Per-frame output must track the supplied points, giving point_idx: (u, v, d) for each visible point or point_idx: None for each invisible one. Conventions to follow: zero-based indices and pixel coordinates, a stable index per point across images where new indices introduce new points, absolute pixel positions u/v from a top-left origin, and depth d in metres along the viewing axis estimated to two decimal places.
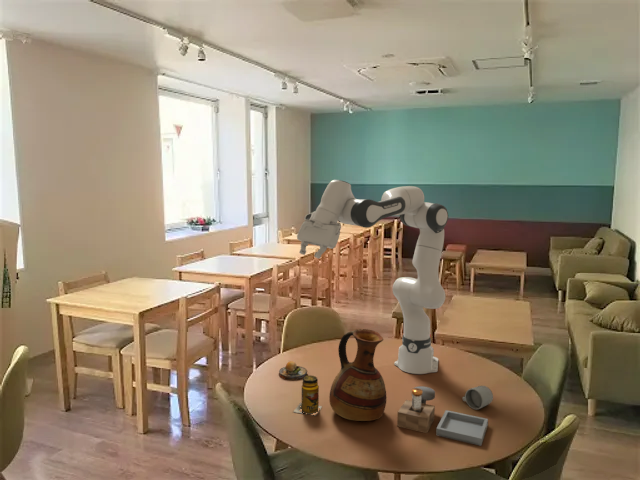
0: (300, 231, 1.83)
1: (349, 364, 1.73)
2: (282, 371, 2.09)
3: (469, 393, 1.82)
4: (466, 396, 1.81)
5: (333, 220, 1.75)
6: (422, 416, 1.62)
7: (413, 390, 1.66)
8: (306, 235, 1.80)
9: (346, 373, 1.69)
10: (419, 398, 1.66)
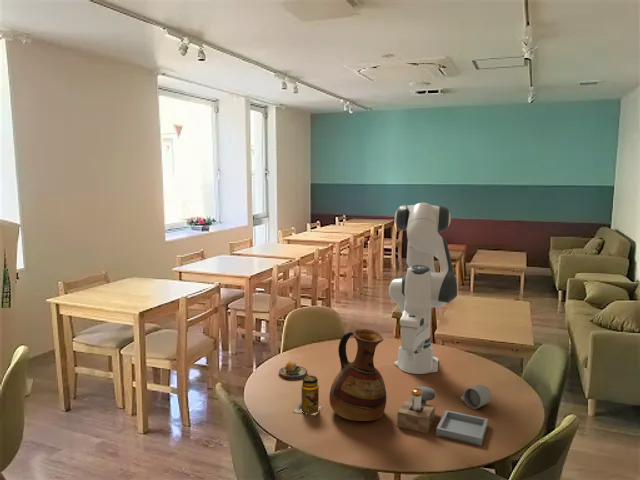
0: None
1: (349, 364, 1.73)
2: (282, 371, 2.09)
3: (467, 392, 1.82)
4: (464, 395, 1.81)
5: None
6: (422, 416, 1.62)
7: (413, 390, 1.66)
8: (418, 340, 1.60)
9: (346, 373, 1.69)
10: (419, 398, 1.66)
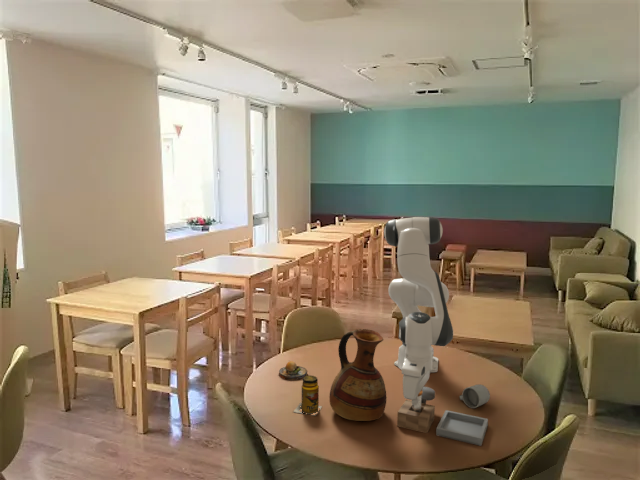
0: (416, 390, 1.58)
1: (349, 364, 1.73)
2: (282, 371, 2.09)
3: (466, 392, 1.83)
4: (463, 395, 1.82)
5: None
6: (422, 416, 1.62)
7: None
8: (419, 388, 1.62)
9: (346, 373, 1.69)
10: (419, 398, 1.66)
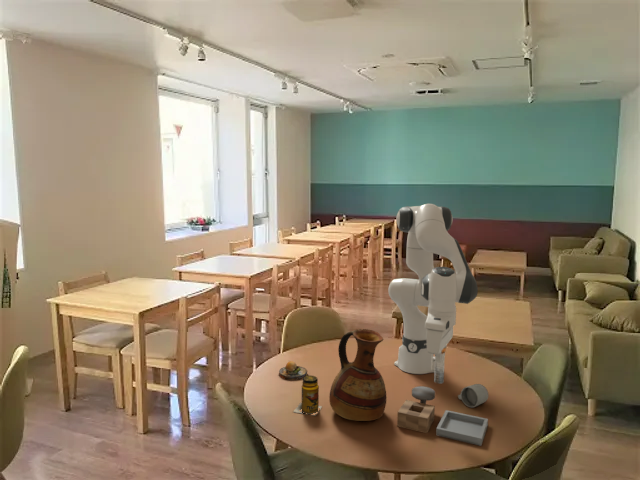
0: None
1: (349, 364, 1.73)
2: (282, 371, 2.09)
3: (465, 391, 1.83)
4: (462, 394, 1.82)
5: None
6: (422, 416, 1.62)
7: None
8: (443, 343, 1.57)
9: (346, 373, 1.69)
10: (442, 355, 1.61)
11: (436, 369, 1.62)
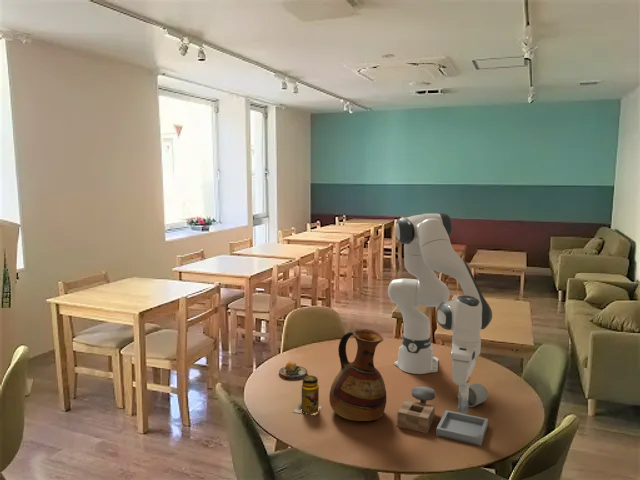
0: None
1: (349, 364, 1.73)
2: (282, 371, 2.09)
3: None
4: None
5: None
6: (422, 416, 1.62)
7: None
8: (468, 373, 1.56)
9: (346, 373, 1.69)
10: (467, 385, 1.60)
11: (460, 398, 1.61)
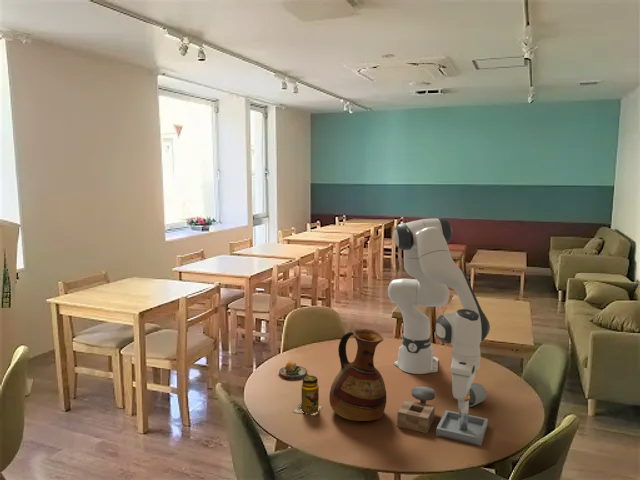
0: None
1: (349, 364, 1.73)
2: (282, 371, 2.09)
3: None
4: None
5: None
6: (422, 416, 1.62)
7: None
8: (468, 387, 1.57)
9: (346, 373, 1.69)
10: (467, 403, 1.61)
11: (460, 416, 1.62)
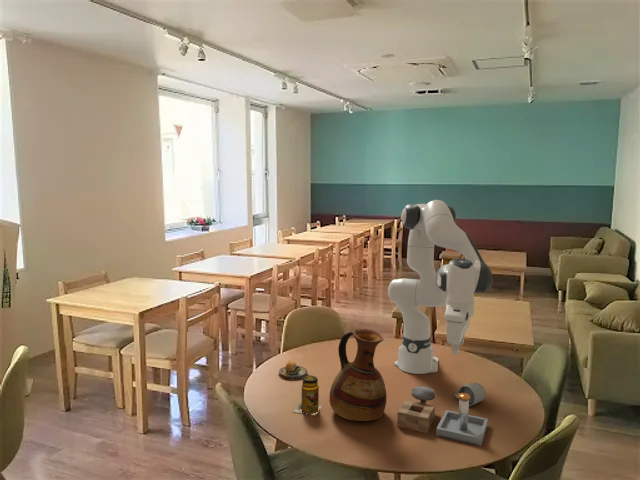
0: None
1: (349, 364, 1.73)
2: (282, 371, 2.09)
3: (462, 390, 1.84)
4: None
5: None
6: (422, 416, 1.62)
7: (460, 395, 1.62)
8: (462, 334, 1.60)
9: (346, 373, 1.69)
10: (467, 403, 1.61)
11: (460, 416, 1.62)
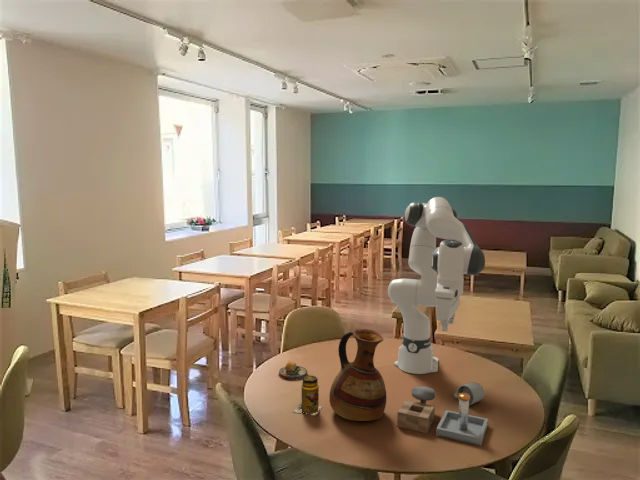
0: (449, 312, 1.62)
1: (349, 364, 1.73)
2: (282, 371, 2.09)
3: (461, 389, 1.85)
4: (458, 392, 1.84)
5: None
6: (422, 416, 1.62)
7: (460, 395, 1.62)
8: (451, 311, 1.66)
9: (346, 373, 1.69)
10: (467, 403, 1.61)
11: (460, 416, 1.62)
